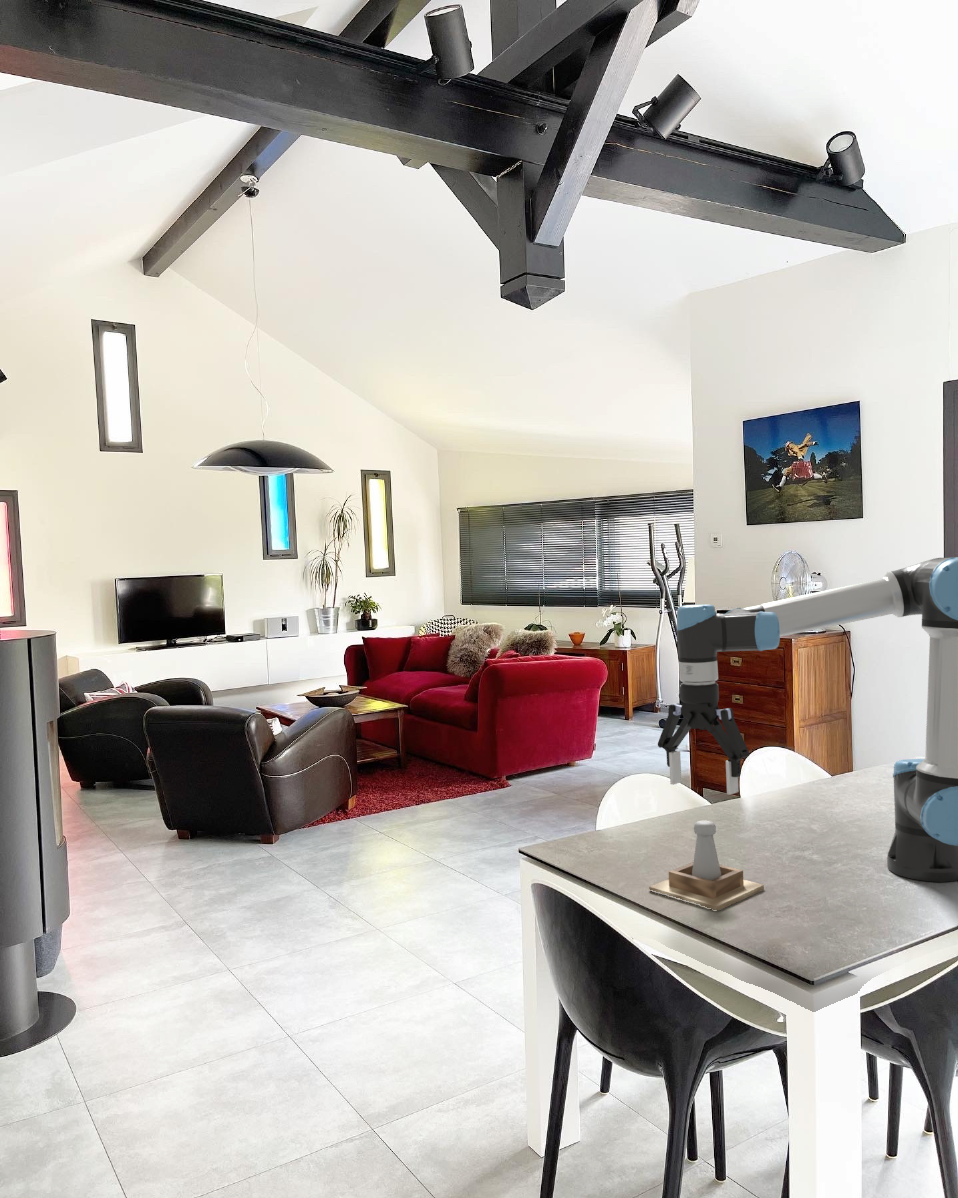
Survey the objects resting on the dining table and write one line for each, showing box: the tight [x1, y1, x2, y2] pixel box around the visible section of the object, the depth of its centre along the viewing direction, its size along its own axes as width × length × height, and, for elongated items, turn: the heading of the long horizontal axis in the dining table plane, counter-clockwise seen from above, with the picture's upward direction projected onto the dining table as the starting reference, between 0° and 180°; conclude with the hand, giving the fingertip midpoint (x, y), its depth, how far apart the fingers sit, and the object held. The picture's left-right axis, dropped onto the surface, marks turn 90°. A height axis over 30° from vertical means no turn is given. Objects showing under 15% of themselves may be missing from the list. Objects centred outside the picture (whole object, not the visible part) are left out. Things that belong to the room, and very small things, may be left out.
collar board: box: [648, 861, 765, 911], centre depth 186 cm, size 16×16×4 cm
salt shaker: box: [692, 819, 721, 881], centre depth 186 cm, size 6×6×13 cm
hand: (703, 788), depth 185 cm, fingers open, 13 cm apart
